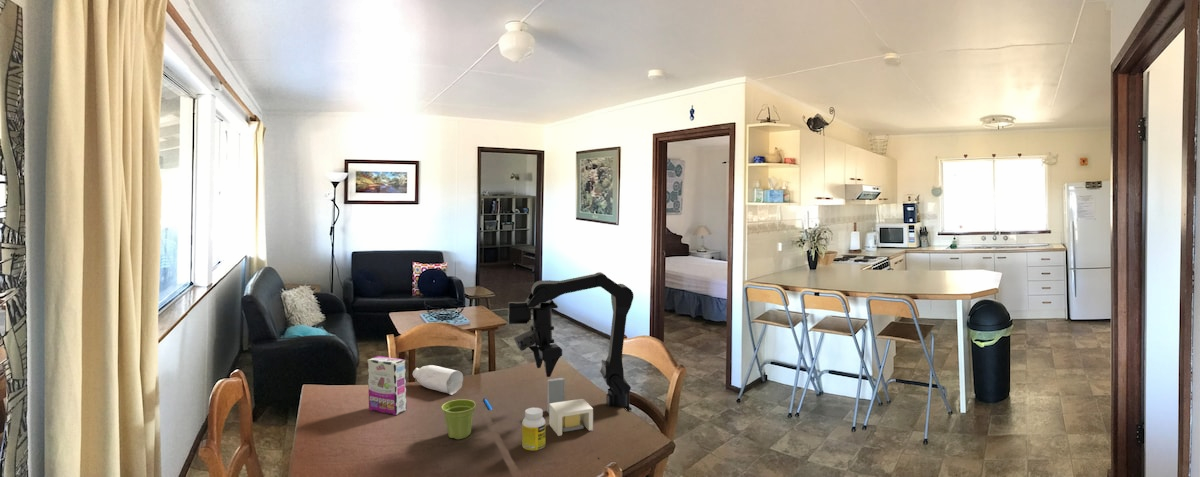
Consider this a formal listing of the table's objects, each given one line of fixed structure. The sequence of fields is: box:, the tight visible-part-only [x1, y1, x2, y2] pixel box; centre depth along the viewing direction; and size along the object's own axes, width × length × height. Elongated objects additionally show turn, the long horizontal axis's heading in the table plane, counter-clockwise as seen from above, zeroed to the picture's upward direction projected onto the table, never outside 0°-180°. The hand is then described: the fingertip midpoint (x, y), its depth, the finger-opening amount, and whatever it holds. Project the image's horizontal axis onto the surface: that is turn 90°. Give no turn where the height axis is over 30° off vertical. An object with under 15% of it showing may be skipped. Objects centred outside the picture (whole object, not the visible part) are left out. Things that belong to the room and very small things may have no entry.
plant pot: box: [441, 399, 477, 440], centre depth 161 cm, size 9×9×9 cm
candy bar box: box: [367, 355, 407, 416], centre depth 178 cm, size 11×5×16 cm, turn 68°
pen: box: [483, 398, 493, 411], centre depth 180 cm, size 1×19×1 cm, turn 23°
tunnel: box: [548, 398, 594, 437], centre depth 167 cm, size 10×15×8 cm
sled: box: [545, 377, 584, 433], centre depth 169 cm, size 6×17×10 cm, turn 23°
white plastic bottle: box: [412, 364, 464, 396], centre depth 197 cm, size 8×19×8 cm, turn 59°
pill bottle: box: [521, 407, 546, 452], centre depth 152 cm, size 6×6×11 cm
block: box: [562, 414, 581, 428], centre depth 164 cm, size 4×4×4 cm
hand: (543, 372), depth 175 cm, fingers open, 9 cm apart
